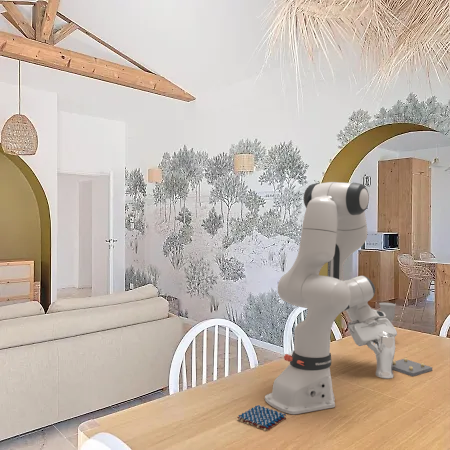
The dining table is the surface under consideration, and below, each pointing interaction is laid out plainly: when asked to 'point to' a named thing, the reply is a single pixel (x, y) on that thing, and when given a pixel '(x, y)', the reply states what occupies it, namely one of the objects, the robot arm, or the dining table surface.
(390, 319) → the chalice
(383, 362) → the beer glass
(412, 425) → the dining table surface
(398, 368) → the coaster
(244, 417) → the woven mat
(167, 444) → the dining table surface
